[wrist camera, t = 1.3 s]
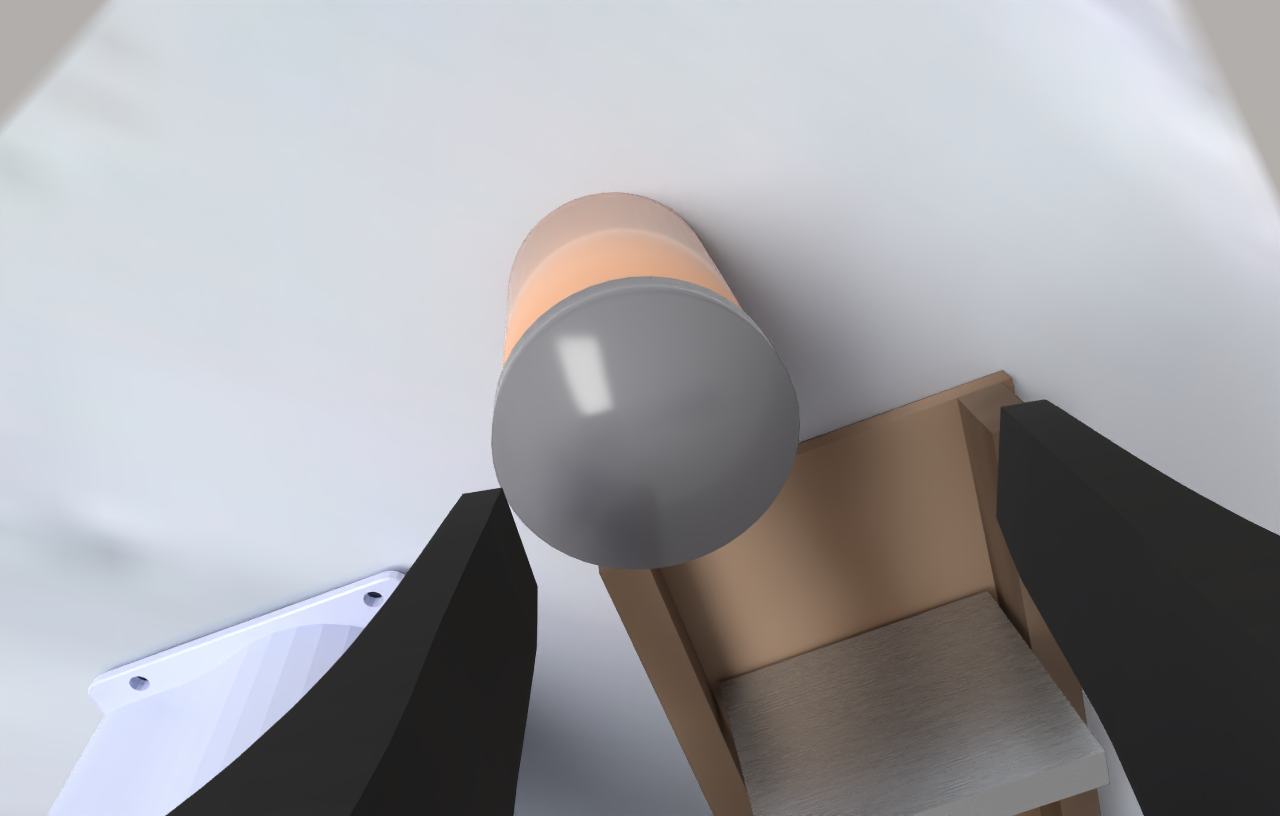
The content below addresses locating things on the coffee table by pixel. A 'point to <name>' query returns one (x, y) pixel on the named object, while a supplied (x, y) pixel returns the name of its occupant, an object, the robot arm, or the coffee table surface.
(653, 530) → the jar
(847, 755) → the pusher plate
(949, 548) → the pusher lane
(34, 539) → the coffee table surface
